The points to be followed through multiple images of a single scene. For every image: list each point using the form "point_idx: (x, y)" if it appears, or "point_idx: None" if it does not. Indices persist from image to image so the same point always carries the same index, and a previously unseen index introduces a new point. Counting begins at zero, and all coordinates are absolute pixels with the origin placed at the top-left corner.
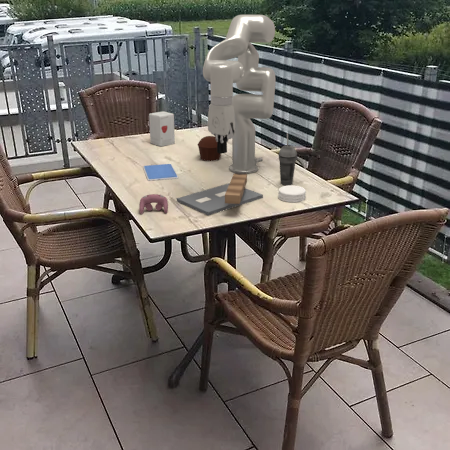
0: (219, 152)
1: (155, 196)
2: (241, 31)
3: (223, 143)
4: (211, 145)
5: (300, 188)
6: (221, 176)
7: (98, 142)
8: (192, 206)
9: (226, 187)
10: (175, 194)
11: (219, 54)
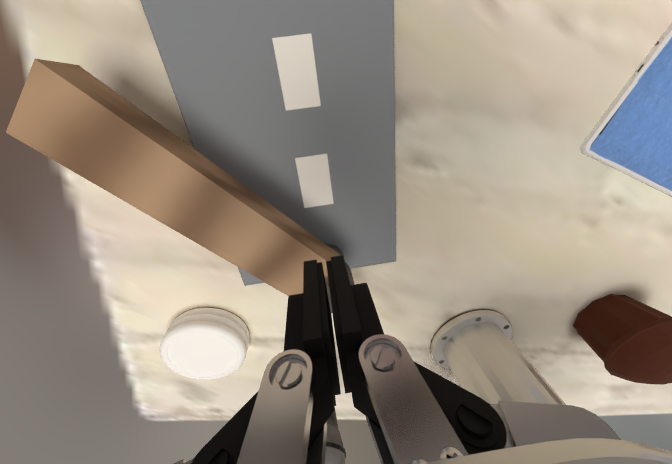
0: (313, 263)
1: None
2: None
3: (283, 362)
4: (635, 347)
5: (203, 373)
6: (474, 273)
7: None
8: None
9: (367, 229)
10: (463, 27)
11: None
